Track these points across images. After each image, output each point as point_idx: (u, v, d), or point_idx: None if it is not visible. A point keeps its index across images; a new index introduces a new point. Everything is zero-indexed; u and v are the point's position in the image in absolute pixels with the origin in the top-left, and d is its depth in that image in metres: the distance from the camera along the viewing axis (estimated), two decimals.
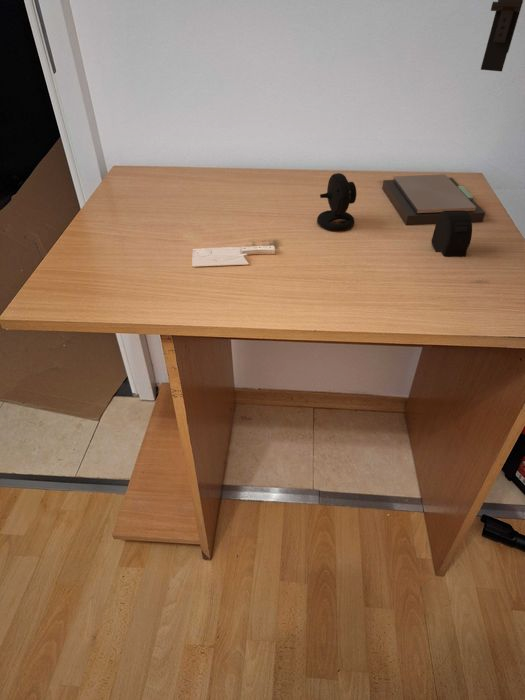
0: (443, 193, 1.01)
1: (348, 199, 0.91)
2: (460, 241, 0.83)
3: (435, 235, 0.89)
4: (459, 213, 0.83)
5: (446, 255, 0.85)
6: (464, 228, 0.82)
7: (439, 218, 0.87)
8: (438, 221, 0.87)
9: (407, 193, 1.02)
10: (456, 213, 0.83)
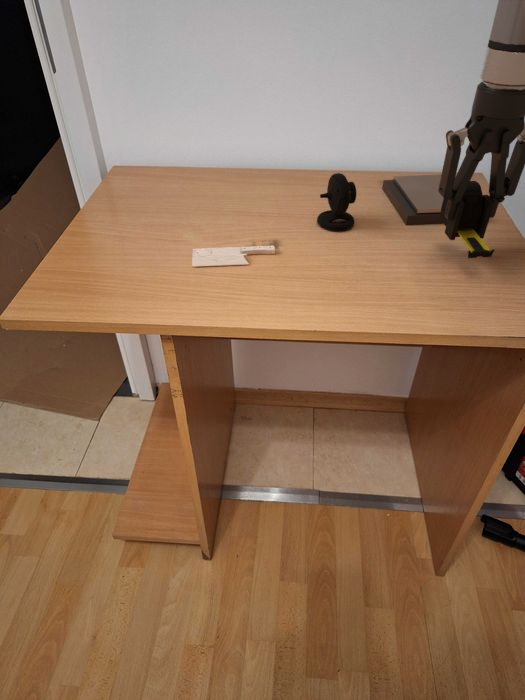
0: None
1: (348, 199, 0.91)
2: (471, 212, 0.80)
3: (443, 208, 0.86)
4: None
5: None
6: (475, 198, 0.79)
7: None
8: None
9: (407, 193, 1.02)
10: None
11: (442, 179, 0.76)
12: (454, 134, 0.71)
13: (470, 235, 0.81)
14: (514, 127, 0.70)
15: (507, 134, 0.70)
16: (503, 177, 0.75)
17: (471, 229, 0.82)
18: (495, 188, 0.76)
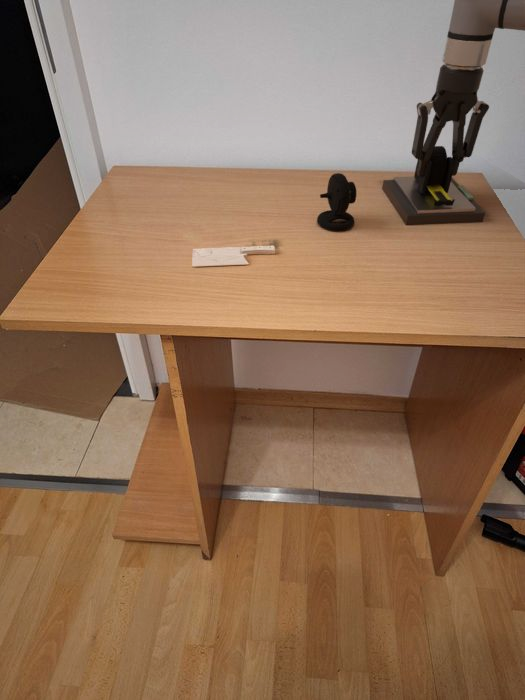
0: None
1: (348, 199, 0.91)
2: (437, 171, 1.00)
3: None
4: (436, 147, 1.00)
5: None
6: (440, 159, 0.99)
7: None
8: None
9: (407, 194, 1.02)
10: (434, 147, 1.00)
11: (414, 142, 0.96)
12: (422, 105, 0.90)
13: (437, 189, 1.01)
14: (469, 100, 0.90)
15: (463, 106, 0.90)
16: (462, 141, 0.95)
17: (438, 185, 1.02)
18: (456, 150, 0.96)
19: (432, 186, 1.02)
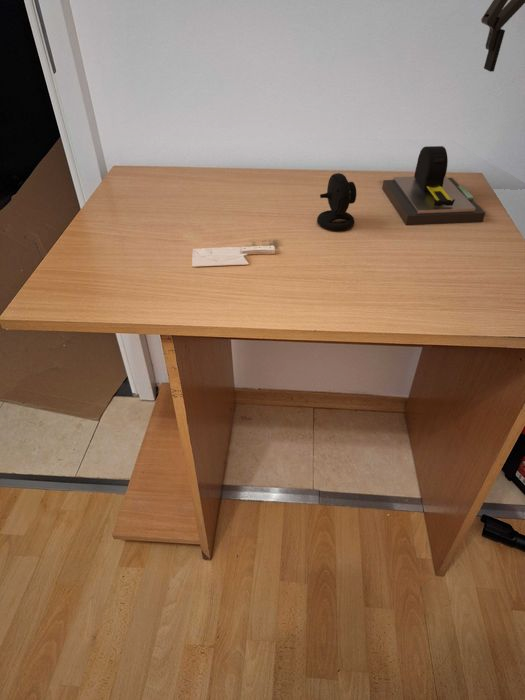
0: None
1: (348, 199, 0.91)
2: (438, 171, 1.00)
3: (417, 169, 1.05)
4: (436, 147, 1.00)
5: (426, 184, 1.01)
6: (441, 159, 0.99)
7: (420, 154, 1.03)
8: (419, 157, 1.04)
9: (407, 194, 1.02)
10: (434, 147, 1.00)
11: (491, 5, 0.85)
12: None
13: (437, 189, 1.01)
14: None
15: None
16: None
17: (438, 185, 1.02)
18: None
19: (432, 186, 1.02)
